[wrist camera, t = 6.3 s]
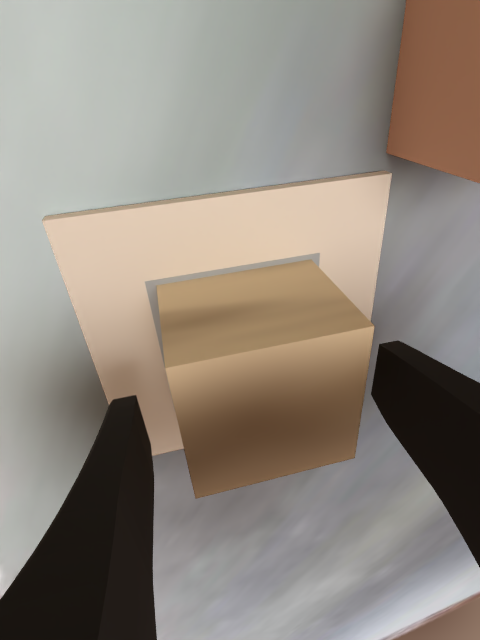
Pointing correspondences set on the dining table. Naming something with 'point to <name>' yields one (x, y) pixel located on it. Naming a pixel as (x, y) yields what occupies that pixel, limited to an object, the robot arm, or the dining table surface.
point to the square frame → (204, 266)
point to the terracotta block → (439, 87)
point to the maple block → (263, 372)
